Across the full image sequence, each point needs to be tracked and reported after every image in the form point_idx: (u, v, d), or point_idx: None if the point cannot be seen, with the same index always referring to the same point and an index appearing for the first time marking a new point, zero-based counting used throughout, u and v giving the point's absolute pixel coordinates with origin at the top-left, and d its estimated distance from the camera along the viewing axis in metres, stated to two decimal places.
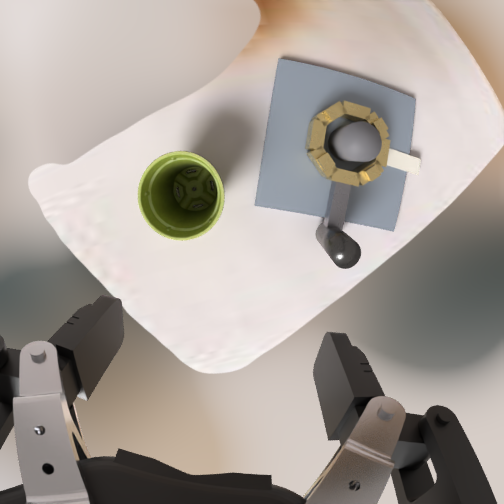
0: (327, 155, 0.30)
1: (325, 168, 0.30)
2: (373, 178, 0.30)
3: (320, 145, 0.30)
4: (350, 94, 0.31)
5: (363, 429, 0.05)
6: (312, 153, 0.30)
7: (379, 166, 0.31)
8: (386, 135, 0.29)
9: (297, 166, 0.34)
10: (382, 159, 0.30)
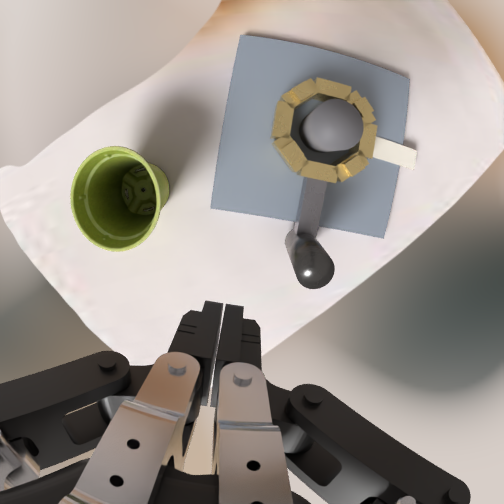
0: (294, 144, 0.24)
1: (291, 160, 0.24)
2: (355, 172, 0.24)
3: (286, 132, 0.24)
4: (328, 72, 0.25)
5: (228, 404, 0.06)
6: (276, 142, 0.24)
7: (363, 158, 0.25)
8: (372, 119, 0.23)
9: (261, 160, 0.28)
10: (367, 148, 0.24)
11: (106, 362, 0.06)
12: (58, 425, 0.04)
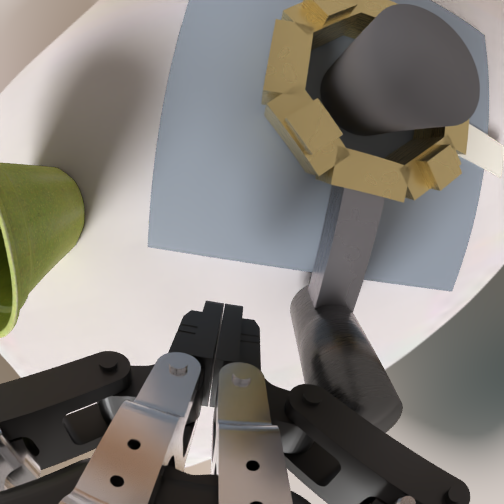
0: (317, 107, 0.09)
1: (311, 147, 0.09)
2: (444, 182, 0.10)
3: (296, 83, 0.09)
4: None
5: (227, 404, 0.06)
6: (272, 105, 0.10)
7: (452, 151, 0.10)
8: None
9: (243, 149, 0.13)
10: (457, 133, 0.10)
11: (107, 362, 0.06)
12: (59, 425, 0.04)
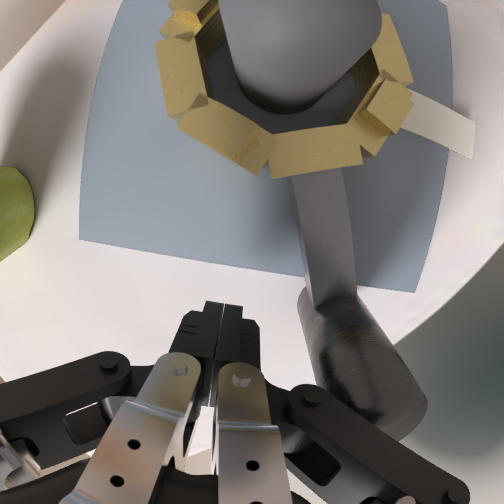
0: (218, 109, 0.08)
1: (229, 152, 0.09)
2: (397, 122, 0.08)
3: (196, 94, 0.09)
4: None
5: (227, 404, 0.06)
6: (182, 127, 0.09)
7: (396, 85, 0.09)
8: None
9: (157, 139, 0.13)
10: (394, 63, 0.08)
11: (107, 363, 0.06)
12: (59, 425, 0.04)
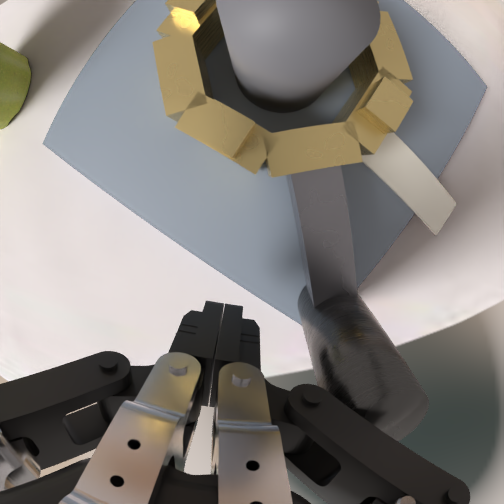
0: (217, 108, 0.08)
1: (228, 150, 0.09)
2: (397, 120, 0.08)
3: (194, 93, 0.09)
4: None
5: (227, 404, 0.06)
6: (181, 126, 0.09)
7: (395, 82, 0.09)
8: None
9: (143, 84, 0.12)
10: (393, 61, 0.08)
11: (107, 362, 0.06)
12: (59, 425, 0.04)
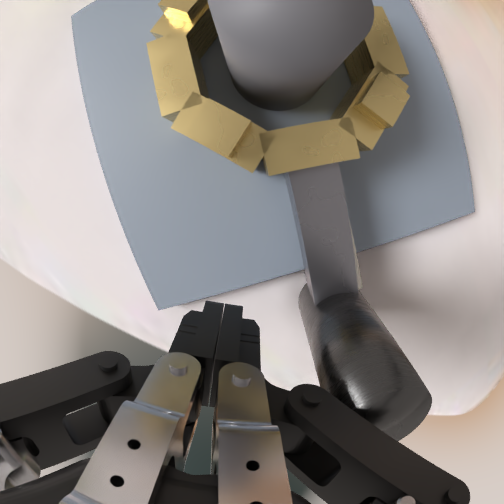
0: (212, 107, 0.08)
1: (224, 150, 0.09)
2: (394, 115, 0.08)
3: (189, 93, 0.09)
4: None
5: (227, 404, 0.06)
6: (176, 127, 0.09)
7: (391, 77, 0.08)
8: None
9: None
10: (388, 56, 0.08)
11: (107, 362, 0.06)
12: (59, 425, 0.04)
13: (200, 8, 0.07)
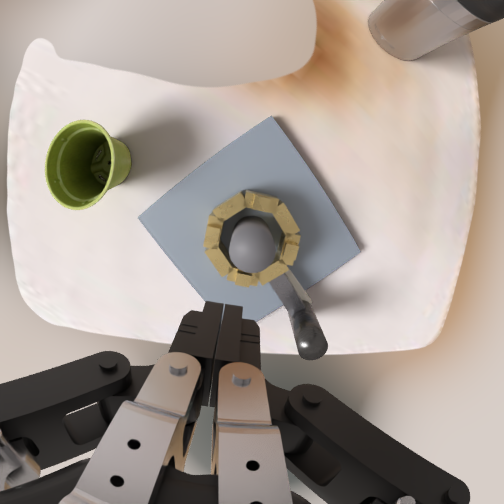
0: (239, 275, 0.30)
1: (247, 286, 0.31)
2: (294, 256, 0.30)
3: (228, 267, 0.31)
4: (300, 199, 0.32)
5: (227, 404, 0.06)
6: (228, 279, 0.32)
7: (293, 236, 0.30)
8: (276, 202, 0.29)
9: (195, 217, 0.33)
10: (290, 227, 0.30)
11: (107, 362, 0.06)
12: (59, 425, 0.04)
13: (219, 236, 0.30)
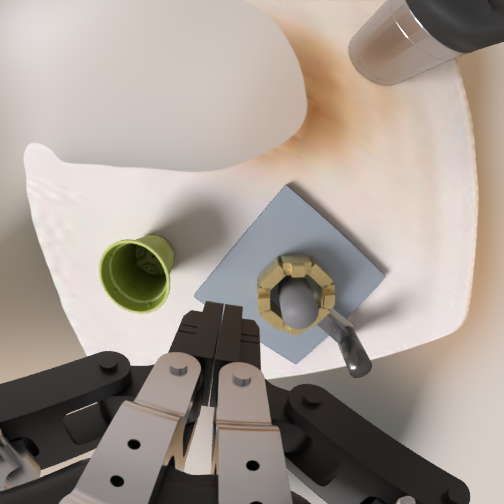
0: None
1: (300, 333, 0.37)
2: (333, 303, 0.35)
3: (282, 322, 0.37)
4: (327, 250, 0.37)
5: (227, 404, 0.06)
6: (283, 330, 0.38)
7: (328, 287, 0.35)
8: (309, 265, 0.35)
9: (243, 286, 0.39)
10: (325, 281, 0.35)
11: (107, 363, 0.06)
12: (59, 425, 0.04)
13: None
